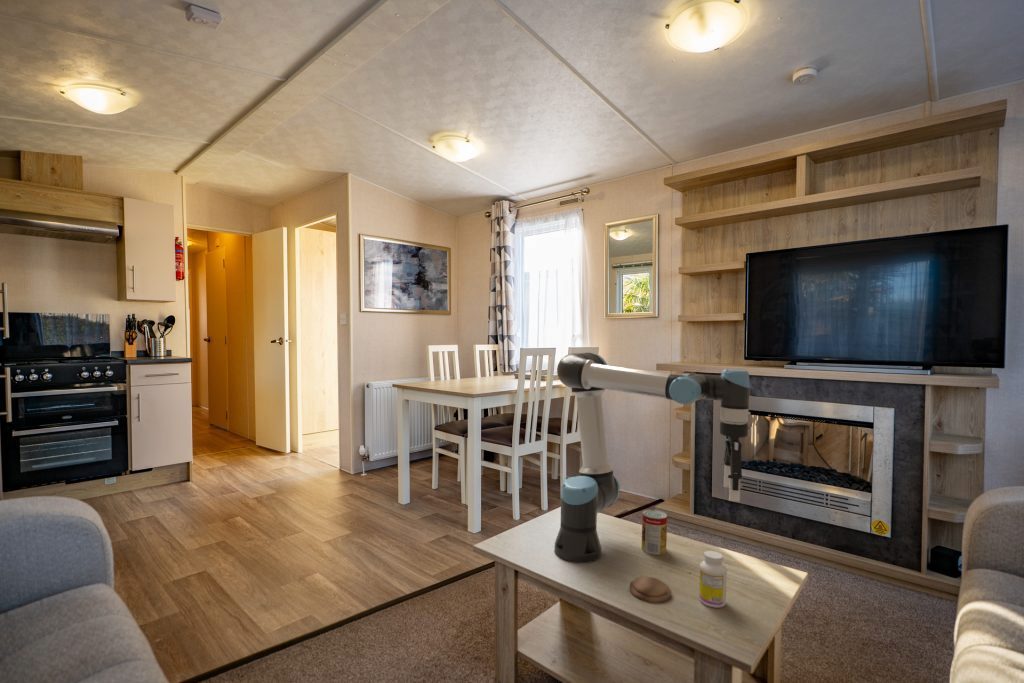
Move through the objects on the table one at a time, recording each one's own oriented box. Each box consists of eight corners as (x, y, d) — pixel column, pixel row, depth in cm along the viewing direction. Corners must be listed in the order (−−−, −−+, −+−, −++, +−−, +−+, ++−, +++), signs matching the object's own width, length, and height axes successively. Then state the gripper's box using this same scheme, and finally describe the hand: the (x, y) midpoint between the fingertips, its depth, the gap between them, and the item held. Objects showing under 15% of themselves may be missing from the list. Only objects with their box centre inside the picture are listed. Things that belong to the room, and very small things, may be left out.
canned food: (665, 546, 169) (666, 511, 169) (666, 556, 161) (667, 519, 161) (641, 543, 171) (642, 508, 170) (641, 553, 163) (642, 516, 163)
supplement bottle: (707, 593, 138) (708, 547, 138) (730, 603, 133) (732, 555, 133) (694, 600, 134) (695, 553, 134) (717, 611, 129) (718, 562, 129)
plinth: (627, 597, 135) (627, 590, 135) (631, 579, 145) (632, 572, 145) (670, 606, 131) (670, 598, 131) (671, 586, 142) (671, 579, 142)
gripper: (755, 430, 134) (752, 509, 135) (741, 416, 158) (739, 483, 158) (724, 428, 136) (722, 505, 137) (716, 414, 160) (713, 480, 161)
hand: (731, 493), depth 148 cm, fingers open, 13 cm apart
